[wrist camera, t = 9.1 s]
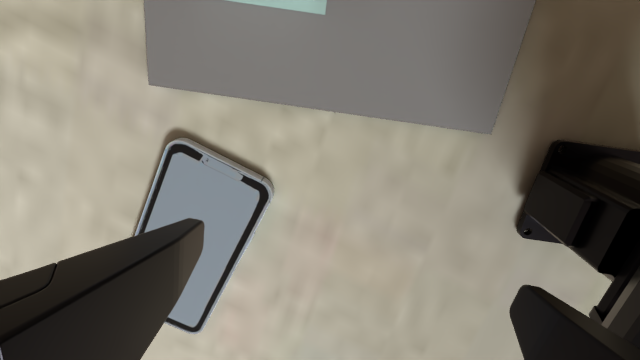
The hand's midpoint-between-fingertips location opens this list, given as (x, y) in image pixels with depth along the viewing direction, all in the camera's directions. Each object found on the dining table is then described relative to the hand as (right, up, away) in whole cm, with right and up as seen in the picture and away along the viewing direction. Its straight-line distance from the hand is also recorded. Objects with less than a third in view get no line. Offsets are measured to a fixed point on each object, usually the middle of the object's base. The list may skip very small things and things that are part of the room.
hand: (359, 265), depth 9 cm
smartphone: (-10, -2, +15) cm, 18 cm away
